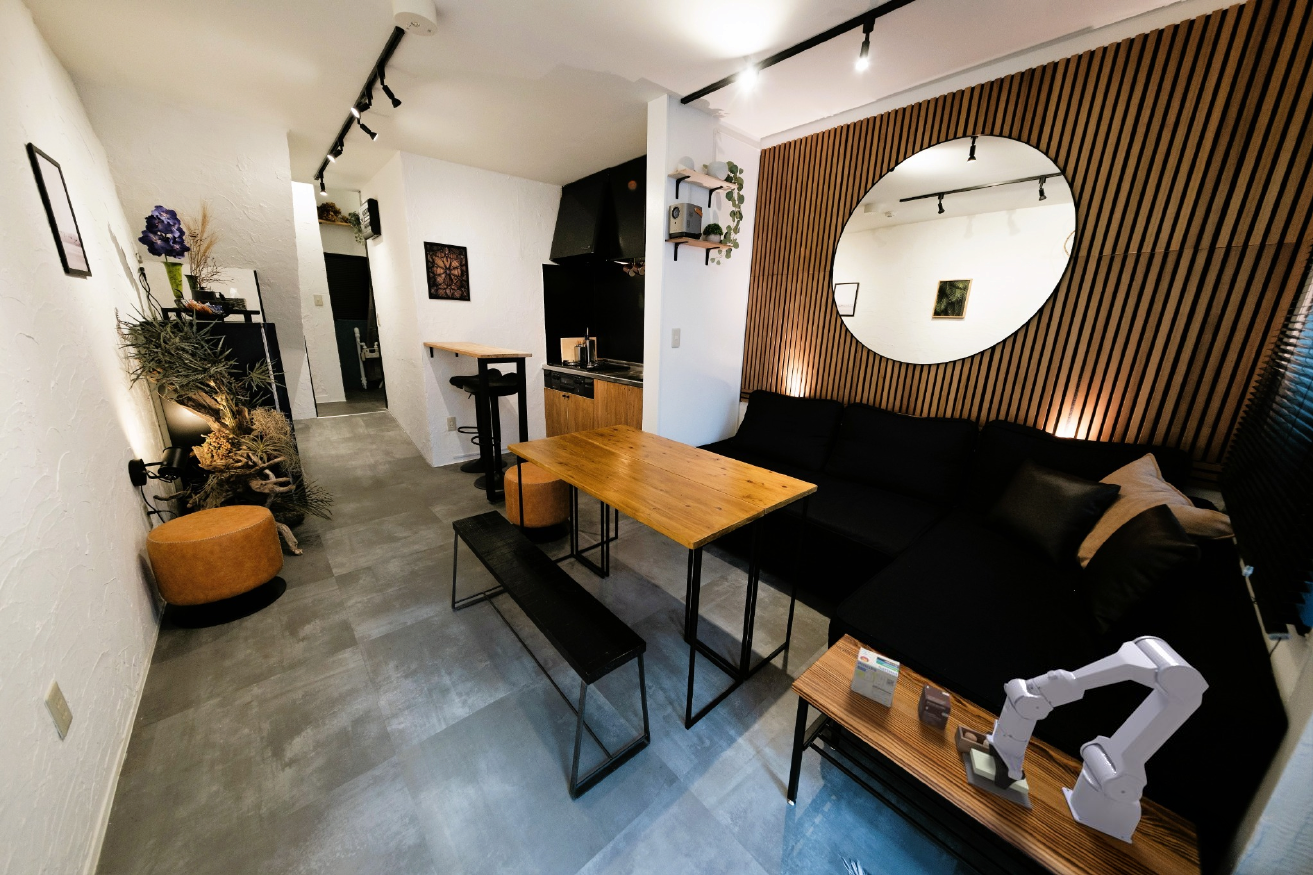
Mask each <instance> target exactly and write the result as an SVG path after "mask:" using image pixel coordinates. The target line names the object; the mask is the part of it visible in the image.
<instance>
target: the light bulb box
mask: <svg viewBox="0 0 1313 875" xmlns="http://www.w3.org/2000/svg"><path fill="white" fill-rule="evenodd" d="M855 662H856V663H855V666H854V672H853V675H852V681H851V685H850V690H851V691H853V692H855V693H858V694H860V695H862V696H864V697H866V698H868V699H870V700H872V701H874V702H877V703H879V704H881V705H884V706H886V707H888V708H891V704H892V703H893V702H892V701H893V698H894V694H895V689H896V686H897V682H898V678H899V670H900V662H899V661H897V660H893V659H891V658H888V657H886V656H883V655H881V654H878V653H876V652H874V651H871V650H868V649H866V648H863V647H860V648H859V652H858V655H857V659H856V661H855Z"/></svg>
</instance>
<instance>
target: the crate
mask: <svg viewBox="0 0 1313 875" xmlns="http://www.w3.org/2000/svg"><path fill="white" fill-rule="evenodd" d="M954 733H955V734H954V740H955V741H954V742H955V744H956V750H957V751H958V752H961V753H962V754H963V753H964V754H967V755H969V756H971V755H970V752H971V749H975V750H977V751H980V752H982V753H985V754H987V755H989V743H988V742H987V739H986V736H987V733H984V732H980V731H977V730H975V729H972V728H969V727H967V726H964V725H962V724H957V726H956V730H955V732H954Z"/></svg>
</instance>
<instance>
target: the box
mask: <svg viewBox="0 0 1313 875" xmlns="http://www.w3.org/2000/svg"><path fill="white" fill-rule="evenodd" d="M950 698H951V697H950V693H949V692H947V691H944V690H941V689H939V688H937V687H934V686H931V685H928V684H926V683H924V684H923V686H922V690H921V693H920V696H919V700H918V704H917V705H918V706H917V707H918V708H917V709H918V716H919V717H918V718H919V721H921V722H924V723H926V724H929V725H931V726H933V727H936V728H938V729H940V730H944V731H945V729H946V727H947V723H948V720H949V717H950V714H951V711H952V704H951V699H950Z"/></svg>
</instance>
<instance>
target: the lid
mask: <svg viewBox="0 0 1313 875" xmlns="http://www.w3.org/2000/svg"><path fill="white" fill-rule="evenodd" d="M970 755H971V760H972V764H973V769H974V773H977V774H979V775H982V776H984V777H986V778H989V779H991V780H994V779H995V771H996V768H995V762H994V757H992V756H990V755H987V754H985V753H982V752H980V751H977V750H975V749H971V752H970ZM970 755H969V756H970ZM1010 788H1013V789H1015V790H1018V791H1020V792H1022V793H1025V794H1029V790H1030V788H1029V785H1028V782H1027V779H1026V778H1025V779H1024V780H1020V781H1016V782H1015V783H1013V784H1012V785H1011V786H1010Z"/></svg>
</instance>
